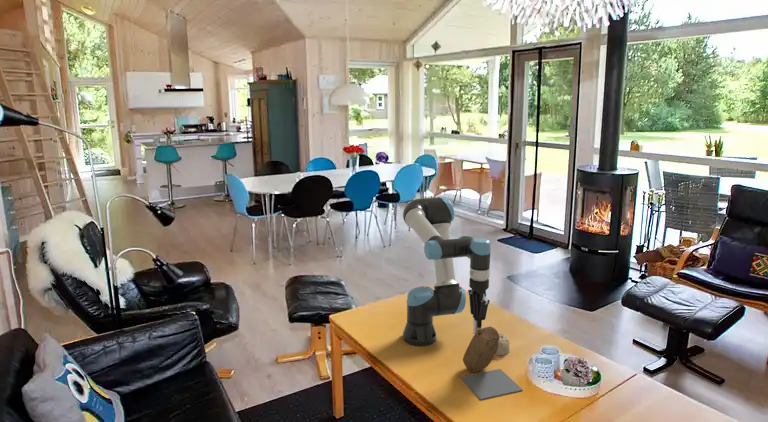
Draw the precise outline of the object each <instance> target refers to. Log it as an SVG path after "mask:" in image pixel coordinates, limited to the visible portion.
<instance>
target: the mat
mask: <svg viewBox="0 0 768 422" xmlns="http://www.w3.org/2000/svg"><path fill="white" fill-rule="evenodd" d="M459 378H460V379H461V380H462V381H463V383H464V384H465V385H466V387H468V389H470V390H471V391H472V392H473V394H475V396H476V397H477V398H478V399H479V400H480V401H483V400H488V399H491V398H492V399H493V398H496V397H501V396H504V395H511V394H515V393H519V392H523V388H522V387H521V386H519V384H517V383H516V381H514V380H513V379H512V378H511V377H510V376H508V375H507V373H505V372H504V371H503V370H502V369H501V368H496V369H492V370H487V371H481V372H475V373H471V374H467V375H463V376H459Z"/></svg>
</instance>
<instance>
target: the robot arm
mask: <svg viewBox="0 0 768 422" xmlns="http://www.w3.org/2000/svg"><path fill="white" fill-rule="evenodd" d="M452 203H453V202H452V201H451V200H450V198H447V197H440V196H437V197H427V198H416V199H412V200H411V201H409V202H408V203H407V204H406V205H405V207H404V209H403V211H402V219H403V222H404V223H405V224H406V225H407V227H409V228H411V229H412V230H413V232H414V233H415V234H416V235H417V236H418V238H419V239H420V240H421V242H422V243H423V245H424V246H423V251H424V254H425V257H426V259H427V260H430V261H431V260H432V261H433V264H434V271H435V279H436V282H435V284H434V285H433V288H432V287H430V286H417V287H413V288H412V289H410V290H409V291H408V293H407V298H406V323H405V326H404V329H403V332H402V340H403V341H404V342H405V343H407V344H408V345H412V346H417V347H418V346H419V347H422V346H423V347H426V346H429V345H432V344H434V343H435V342H436V340H437V332H436V329H435V326H434V323H433V321H434V317H439V316H441V317H442V316H448V315H455V314H460V313H462V312H463V311H465V310H464V309H465V307H466V302H467V294H466V291H465V288H464V287H462V286H460V282H458V281H457V280H456V275H455V268H454V260H453V259H454V258H465V257H467V258H468V259H469V260H470V261H469V283H468V284H469V285H468V286H469V288H470V289H468V290H467V292H468V296H469V307H470V309H469V310H470V314H471V315H472V318H473V329H472V330H473V332H472V333H473V336H474V335H475V334H476V332H477V330H479V329H482V328H483V327H482V325H483V324H482V321H485V320H486V319H487V312H488V308H489V304H490V303H491V301H490V299H487V290H488V289H489V287H490V272H491V271H490V268H491V267H490V266H491V264H490V263H491V251H492V250H491V249H492V248H491V241H490V240H489V239H488V238H485V237H484V238H483V237H477V238H476V237H475V238H474V237H472V236H470V235H468V234H464V235H463V234H462V235H461V236H459V237H458V238H450V231H449V228H450V227H451V225H452V222H453V221H454V219H455V209H454V206H453V204H452Z"/></svg>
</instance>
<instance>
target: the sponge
mask: <svg viewBox="0 0 768 422" xmlns="http://www.w3.org/2000/svg"><path fill="white" fill-rule="evenodd" d="M498 334H499V341H498V343H499V344H498V349H497V352H496V354H495V355H496V356H500V357H501V356H505V355H508V354H509V353H510V344H511V342H510V339H509V338H508V336H507V335H506V334H504V333H501V332H498Z"/></svg>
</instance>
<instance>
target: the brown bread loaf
mask: <svg viewBox="0 0 768 422" xmlns="http://www.w3.org/2000/svg"><path fill="white" fill-rule="evenodd" d="M498 333H499V332H498V330H497V329H496V328H495V327H493V326H486V327H485V326H484V327H481V329H479V330H477V332H476V334H475V335H474V334H473V337H472V338H471V340H470V341H469V344H468V346H467V348H466V349H465V352H464V355H463V358H462V361H463V365H464V366H465V367H466V370H469V371H470V372H471V373H479V372H480V371H481V372H482V370H483V369H485V368H486V367H488V366H489V365H490V364H491V363H492V361H493V359H494V358H495V354H496V352H497V349H498V344H499V343H498V341H499V334H498Z"/></svg>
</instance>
